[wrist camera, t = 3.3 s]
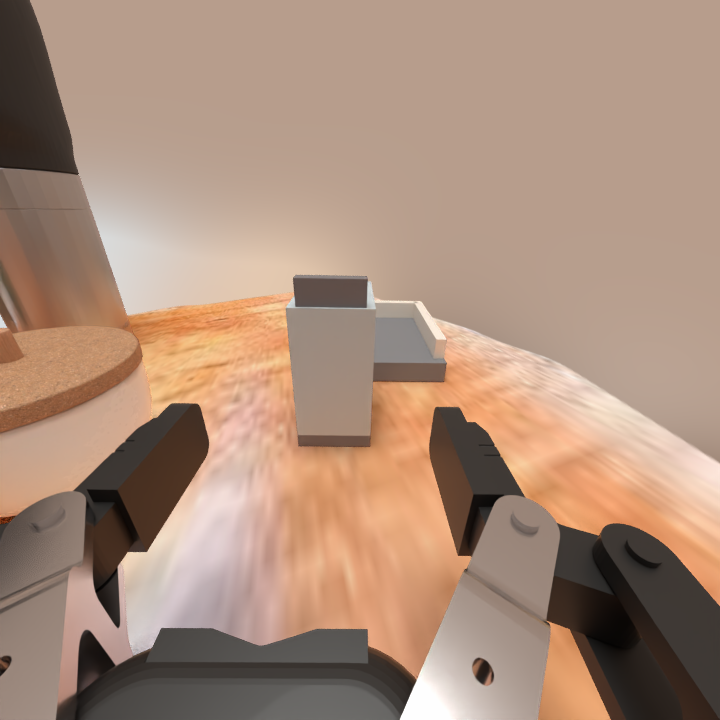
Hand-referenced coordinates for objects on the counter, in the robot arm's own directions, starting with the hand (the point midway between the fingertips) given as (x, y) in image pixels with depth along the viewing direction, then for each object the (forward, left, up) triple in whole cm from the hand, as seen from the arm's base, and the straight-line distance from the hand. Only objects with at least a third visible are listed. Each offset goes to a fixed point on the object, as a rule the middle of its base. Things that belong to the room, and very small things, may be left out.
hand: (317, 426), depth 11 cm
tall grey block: (0, +12, -8) cm, 14 cm away
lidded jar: (-16, +6, -8) cm, 19 cm away
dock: (+5, +24, -8) cm, 25 cm away
